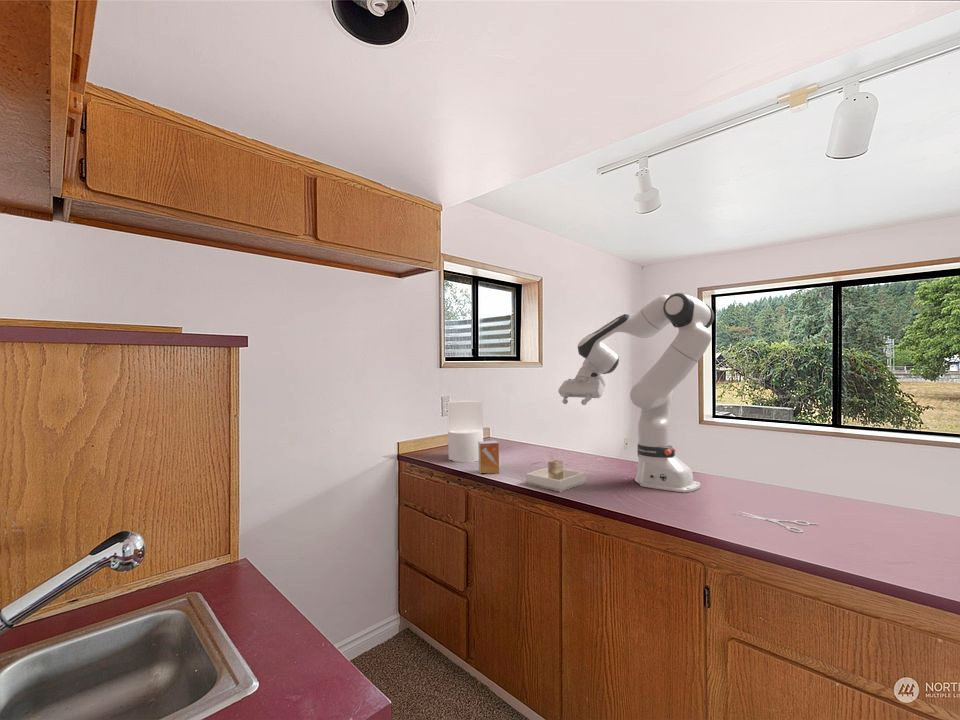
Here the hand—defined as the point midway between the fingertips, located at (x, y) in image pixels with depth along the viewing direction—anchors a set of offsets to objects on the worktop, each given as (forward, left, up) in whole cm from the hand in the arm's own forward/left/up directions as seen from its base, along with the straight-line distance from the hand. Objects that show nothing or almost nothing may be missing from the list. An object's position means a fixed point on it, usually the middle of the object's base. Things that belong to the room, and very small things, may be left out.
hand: (573, 403), depth 185 cm
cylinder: (+55, +13, -29) cm, 64 cm away
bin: (-5, +19, -29) cm, 35 cm away
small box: (+27, +24, -29) cm, 47 cm away
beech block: (-5, +19, -28) cm, 34 cm away
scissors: (-73, +8, -29) cm, 79 cm away
